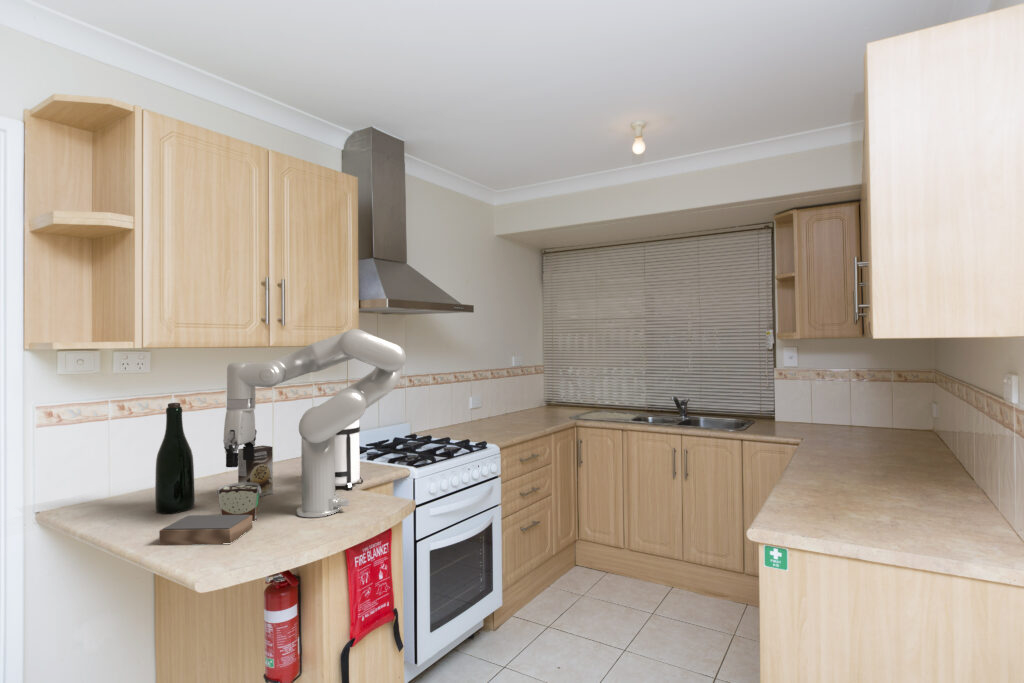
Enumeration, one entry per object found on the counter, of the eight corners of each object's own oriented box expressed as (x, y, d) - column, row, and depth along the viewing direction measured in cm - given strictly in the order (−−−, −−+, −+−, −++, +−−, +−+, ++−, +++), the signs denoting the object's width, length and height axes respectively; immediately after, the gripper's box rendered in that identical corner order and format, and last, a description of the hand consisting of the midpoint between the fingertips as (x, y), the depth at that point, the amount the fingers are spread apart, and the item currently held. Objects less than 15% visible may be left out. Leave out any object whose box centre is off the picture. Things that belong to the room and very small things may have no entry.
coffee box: (247, 500, 182) (246, 450, 182) (237, 497, 186) (237, 448, 186) (273, 493, 190) (273, 446, 190) (263, 491, 194) (263, 444, 194)
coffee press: (312, 485, 200) (311, 401, 200) (356, 479, 209) (355, 398, 209) (325, 496, 185) (324, 406, 185) (372, 489, 194) (371, 402, 194)
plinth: (252, 528, 154) (252, 514, 154) (230, 544, 142) (229, 528, 142) (187, 529, 154) (187, 514, 154) (159, 545, 142) (159, 529, 142)
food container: (268, 515, 166) (268, 481, 166) (260, 521, 160) (259, 486, 160) (226, 516, 166) (226, 482, 166) (216, 522, 160) (215, 487, 160)
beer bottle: (179, 503, 180) (178, 400, 180) (202, 506, 176) (201, 401, 176) (147, 512, 170) (146, 404, 170) (171, 516, 166) (169, 405, 166)
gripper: (242, 401, 172) (242, 457, 171) (212, 407, 154) (211, 470, 154) (267, 401, 171) (266, 457, 171) (239, 408, 154) (238, 470, 154)
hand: (240, 463), depth 163 cm, fingers open, 9 cm apart
